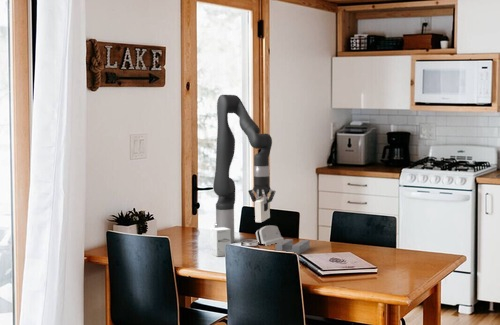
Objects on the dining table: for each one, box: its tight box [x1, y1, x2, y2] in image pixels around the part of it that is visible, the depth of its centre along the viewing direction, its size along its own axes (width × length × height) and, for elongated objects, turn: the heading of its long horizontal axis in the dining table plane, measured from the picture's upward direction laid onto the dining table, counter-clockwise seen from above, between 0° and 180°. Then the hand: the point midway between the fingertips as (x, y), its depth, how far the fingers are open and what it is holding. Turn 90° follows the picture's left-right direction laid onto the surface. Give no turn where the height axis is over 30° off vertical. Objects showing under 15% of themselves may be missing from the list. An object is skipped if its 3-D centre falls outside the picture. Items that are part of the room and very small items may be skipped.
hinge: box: [255, 224, 285, 247], centre depth 405 cm, size 17×5×10 cm, turn 143°
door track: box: [274, 238, 311, 255], centre depth 384 cm, size 16×12×4 cm
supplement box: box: [209, 227, 232, 257], centre depth 376 cm, size 7×7×13 cm
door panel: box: [254, 196, 271, 223], centre depth 386 cm, size 12×3×10 cm, turn 158°
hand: (262, 210), depth 385 cm, fingers closed on door panel, 3 cm apart
